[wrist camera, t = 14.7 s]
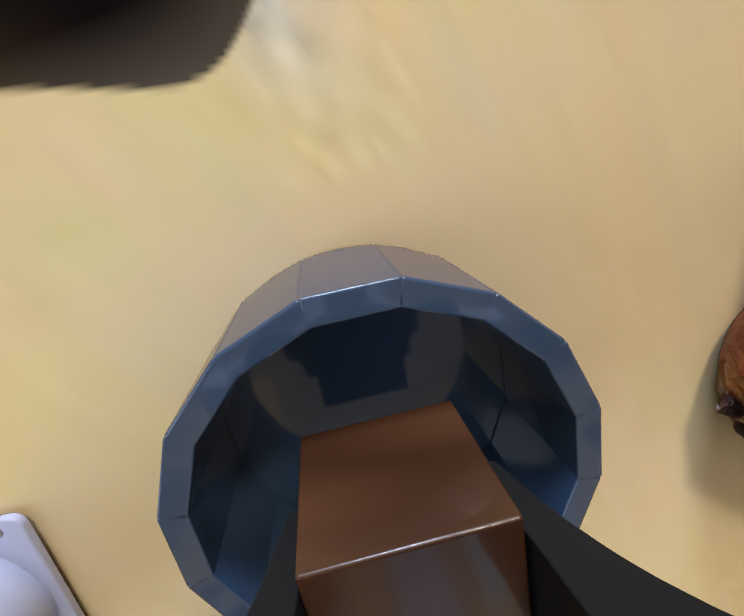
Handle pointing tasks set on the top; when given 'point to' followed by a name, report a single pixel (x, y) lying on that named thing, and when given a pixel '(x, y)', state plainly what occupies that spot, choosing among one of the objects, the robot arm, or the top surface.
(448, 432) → the block
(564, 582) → the robot arm
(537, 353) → the bowl
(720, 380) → the bread roll
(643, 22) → the top surface
